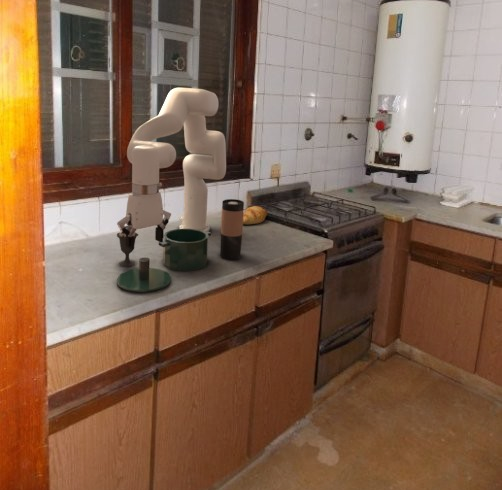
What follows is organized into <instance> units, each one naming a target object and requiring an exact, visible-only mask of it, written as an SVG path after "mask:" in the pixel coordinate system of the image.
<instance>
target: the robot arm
mask: <svg viewBox="0 0 502 490" xmlns="http://www.w3.org/2000/svg"><path fill="white" fill-rule="evenodd" d="M219 106H220V105H219V98H218V95H216V93H215V92H212V91H211V90H210V91H209V90H206V89H203V88H195V87H193V88H192V87H174V88H173V89H171V90H170V91H169V92H168V94H167V96H166V97H165V100H164V102H163V105H162V106H161V109H160V111H159V113H158V115H156V116H155V117H152V118H151V119H149V120H148V121H146V122H144V123H143V124H141V125H140V126H139V127H137V129H136V130H134V133H133V134H132V137H131V139H130V141H129V142H128V146H127V150H126V157H127V160H128V162H129V163H130V164H131V167H132V168H131V192H130V193H128V198H127V202H126V211H125V216H124V217H122V218H121V219H120V220H118V221H117V222H116V225H117V227H118V228H119V230H120V231H119V232H121V231H122V232H123V233H124V234H125V235H126V246H127V247H128V248H129V249H131V250H133V251H134V250H135V245H134V236H132V235H133V234H134V232H135V233H136V232H137V230H141V229H145V228H151V227H155V226H156V227H155V229H154V230H155V231H154V232H155V233H154V235H155V237H154V238H155V239H154V240H155V241H157V242H158V243H159V242H163V239H164V234H165V233H164V232H165V229H166V226H167V225H168V224H169V222H170V221H169V220H170V219H171V216H172V213H171V212H169V211H167V210H164V207H163V199H162V194H161V193H162V192H161V191H160V188H162V187H163V183H162V182H160V169H165V168H169V167H171V166H172V165H173V164H174V163H175V161H176V159H177V151H176V148H175V146H174V145H172V144H171V143H169V142H160V141H154V140H156V139H160V138H164V137H168V136H171V135H174V134H177V133H179V132H180V131H181V130H182V129H183V132H184V145H185V149H186V151H187V152H189V153H191V154H188V155H186V156H185V157H184V159H183V160H182V171H183V179H184V181H183V182H184V188H183V189H184V191H183V215H182V216H181V217H179V221H181V224H180V225H178V226H179V227H178V229H184V228H186V229H196V230H201V231H203V232H206V231H208V232H210V229H211V227H210V225H208V224H207V215H208V194H209V193H208V192H209V189H208V185H207V184H206V182H205V180H204V179H206V180H215V181H217V180H218V181H219V180H222V179H224V177H225V176H226V173H227V145H226V138H225V137H226V136H225V134H224V133H223V132H221V131H218V130H210V129H207V123H206V122H207V121H206V120H207V119H206V117H213V116H215V115H217V112H218V110H219ZM125 226H128V227H127V228H125Z"/></svg>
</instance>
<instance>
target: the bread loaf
mask: <svg viewBox="0 0 502 490" xmlns="http://www.w3.org/2000/svg"><path fill="white" fill-rule="evenodd" d="M267 215H268V211H267V209H264V208H263V207H262V206H258V205H253V206H249V207H247V208H246V209H245V210H244V211H243V225H255V224H256V225H257V224H261V223H263V222H264V221H265V220H266V217H267Z"/></svg>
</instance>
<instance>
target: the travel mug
mask: <svg viewBox="0 0 502 490" xmlns="http://www.w3.org/2000/svg"><path fill="white" fill-rule="evenodd" d="M221 204H222V205H221V220H220V246H219V248H220V249H219V251H220V253H219V255H220V258H222V259H223V260H228V261H236V260H238V259H240V257H241V251H242V242H243V231H244V229H243V228H244V224H243V215H244V212H245V210H244V208H245V202H244V200H240V199H235V198H233V199H232V198H229V199H228V198H227V199H224V200H222V201H221Z"/></svg>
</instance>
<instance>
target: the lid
mask: <svg viewBox="0 0 502 490" xmlns="http://www.w3.org/2000/svg"><path fill="white" fill-rule="evenodd" d="M150 259H151V258H149V257H140V258H139V259H138V268H133V269H129V270H126V271H123V272H121V273H120V274H119V275H118V276H117V277H116V284H117V286H118V287H120V288H121V289H123V290H126V291H130V292H134V293H135V292H136V293H145V292H153V291H157V290H161V289H163V288H164V287H167V286H168V285H169V284H170V283H171V279H172V278H171V275H170V274H169V273H168V272H167V271H166V270H163V269H159V268H153V267H150Z"/></svg>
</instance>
